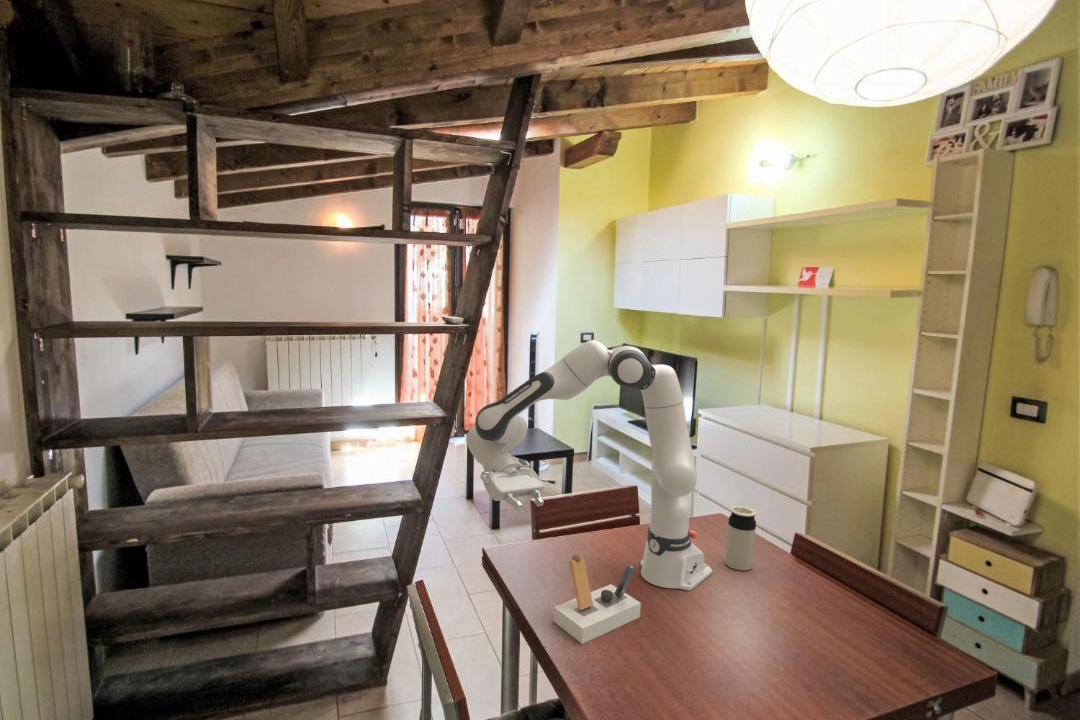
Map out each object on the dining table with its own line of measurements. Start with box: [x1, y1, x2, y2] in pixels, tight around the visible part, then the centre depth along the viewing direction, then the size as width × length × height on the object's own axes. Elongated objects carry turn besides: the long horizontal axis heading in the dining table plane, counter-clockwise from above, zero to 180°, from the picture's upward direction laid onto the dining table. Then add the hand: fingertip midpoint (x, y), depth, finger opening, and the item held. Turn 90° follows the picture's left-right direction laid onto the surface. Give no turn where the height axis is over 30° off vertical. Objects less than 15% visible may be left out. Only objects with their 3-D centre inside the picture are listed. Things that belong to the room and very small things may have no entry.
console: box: [553, 583, 642, 645], centre depth 149 cm, size 20×11×4 cm, turn 127°
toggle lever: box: [615, 564, 636, 598], centre depth 150 cm, size 2×2×10 cm
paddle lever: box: [568, 553, 593, 610], centre depth 147 cm, size 4×2×13 cm, turn 127°
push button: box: [601, 590, 613, 601], centre depth 150 cm, size 3×3×1 cm
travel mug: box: [724, 505, 757, 572], centre depth 180 cm, size 8×8×18 cm
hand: (530, 506), depth 159 cm, fingers open, 8 cm apart
